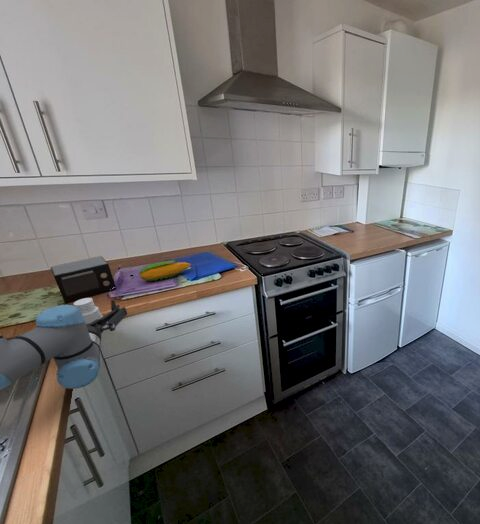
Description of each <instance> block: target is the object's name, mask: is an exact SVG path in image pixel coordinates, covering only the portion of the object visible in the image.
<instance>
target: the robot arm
mask: <svg viewBox="0 0 480 524" xmlns="http://www.w3.org/2000/svg"><path fill="white" fill-rule="evenodd" d="M110 310H111V311H109V312H108V313H107V314H105V315H103V317H102V318H100V319H96V320H95V321H93V322H92V323H89V324H85V319H84V318H83V316H82V314H81V312H80V311H79V309H78V308H77V307H76V306H74V304H71V305H70V304H61V305H56V306H51V307H48V308H46V309H44V310H42V311H41V312H40V313H38V314H37V315H36V316H35V318H34V321H35V325H36V327H35V328H31V329H30V330H28V331H26V332H23V333H22V334H20V335H18V336H16V337H14V338H12V339H10V340H8V339H6V337H5V336H3V335H2V333H0V391H2V390H4V389H5V388H8V387H10V386H11V385H12V384H14V383H15V382H17V380H19V379H21V378H23V377H24V376H26V375H28V374H29V373H31V372H32V371H34V370H35V369H37V368H38V367H40V366H42V365H43V364H46V363H47V362H49V361H50V360H52V359H53V361H54V362H55V365H56V367H57V371H56V380H57V381H56V382H57V384H59V385H60V386H61V387H62V388H65V389H70V390H74V389H75V390H76V389H80V388H84V387H87V386H88V385H90V384H92V383H93V382H94V381H95V380H96V379H97V377H98V375H99V372H100V369H101V364H100V363H101V346H102V345H101V344H102V334H103V332H104V331H107V330H109V331H110V332H114V331H115V330H116V327H117V326H118V325H119V324H120V323H121V322H122V321H123V320H124V319H125V318H126V316H128V311H127V308H126V307H125V306H124V307H120V305H119V304H117V305H116V301H115V300H114V299H112V300H110Z"/></svg>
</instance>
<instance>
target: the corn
mask: <svg viewBox="0 0 480 524" xmlns="http://www.w3.org/2000/svg"><path fill="white" fill-rule="evenodd" d="M191 265H192V264H191V263H189V262H185V261H183V262H182V261H181V262H177V260H165V261H160V262H156V263H152V264H148V265H146V266H144V267H143V268H142V269H141V270H140V272H139V277H140V279H142V280H143V281H147V282H155V281H160V280H164V279H163V278H165V279H169V278H173V277H176V276H177V275H178V274H180V273H182V272H184V271H186V270H188V269H189V268H191ZM168 277H169V278H168ZM158 279H160V280H158ZM153 280H154V281H153Z"/></svg>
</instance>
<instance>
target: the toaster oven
mask: <svg viewBox="0 0 480 524" xmlns="http://www.w3.org/2000/svg"><path fill="white" fill-rule="evenodd" d="M50 270H51V273H52V275H53V278H54V280H55V283H56V285H57V287H58V290H59V292H60V295H61V297H62V299H63V302H64V303H65V304H66V303H67V304H68V303H69V304H70V303H72V302H76V301H78V300H80V299H84V298H91V297H93V296H97V295H100V294H104V293H107V292H111V291H115V290H116V289H117V285H116V282H115V280H114V276H113V274H112V270H111V267H110V265H109V263H108V261H106V260H105V258H104V257H103V256H101V255H98V256H94V257H89V258H84V259H80V260H75V261H70V262H66V263H65V262H64V263H60V264H56V265H52V266H50ZM113 287H116V288H115V289H112V288H113ZM110 289H111V290H110Z"/></svg>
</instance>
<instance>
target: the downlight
mask: <svg viewBox="0 0 480 524" xmlns="http://www.w3.org/2000/svg"><path fill="white" fill-rule="evenodd" d="M73 306H76V307H77V308H78V309H79V311H80V312H81V314H82V316H83V318H84V319H85V324H89V323H92V322H93V321H95V320H96V319H100V318H102V317H103V316H104V315H103V313H101V311H100V309H99V306H96V304H95V302H94V300H93V298H92V297H86V298H83V299H79V300H76V301H73Z"/></svg>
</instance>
